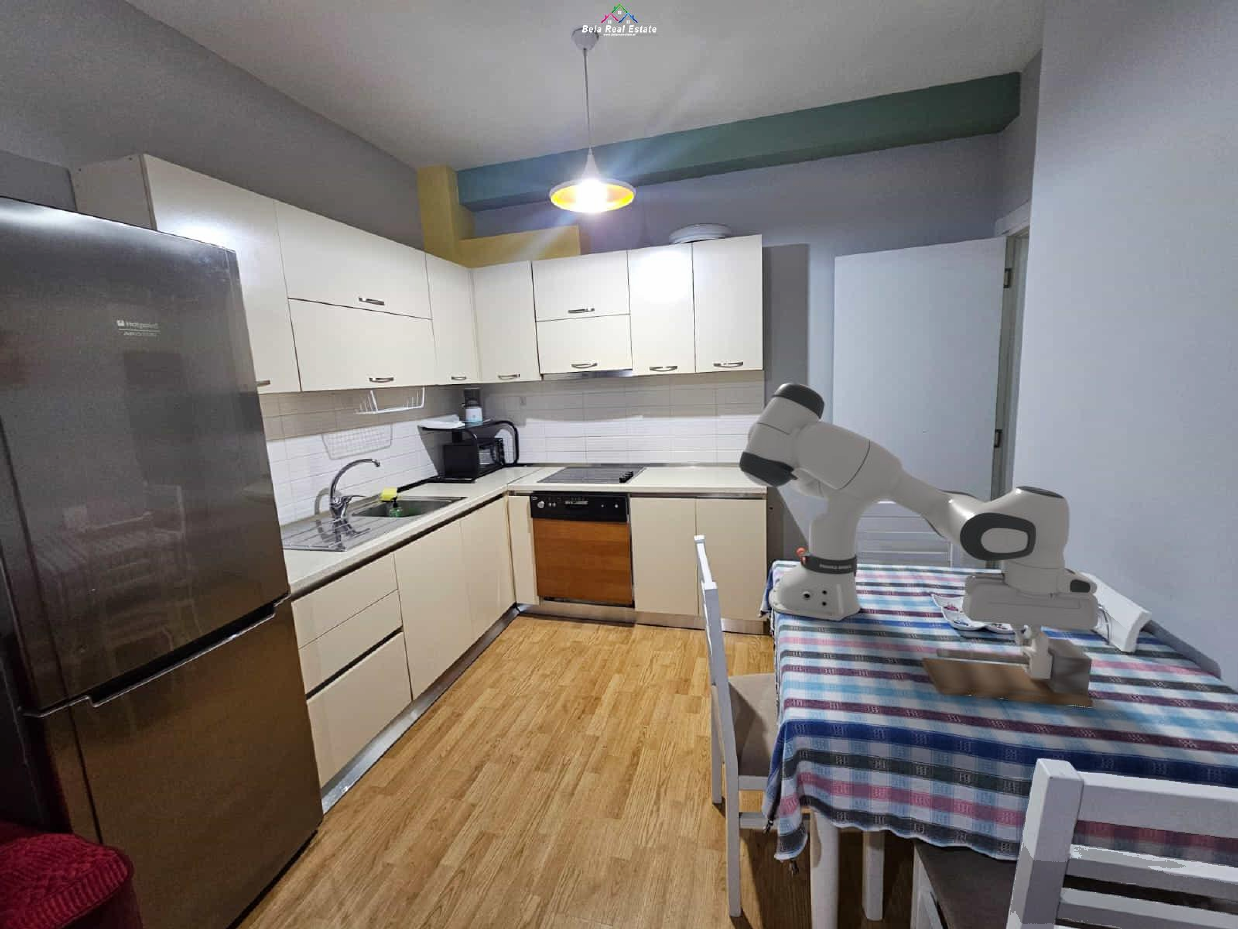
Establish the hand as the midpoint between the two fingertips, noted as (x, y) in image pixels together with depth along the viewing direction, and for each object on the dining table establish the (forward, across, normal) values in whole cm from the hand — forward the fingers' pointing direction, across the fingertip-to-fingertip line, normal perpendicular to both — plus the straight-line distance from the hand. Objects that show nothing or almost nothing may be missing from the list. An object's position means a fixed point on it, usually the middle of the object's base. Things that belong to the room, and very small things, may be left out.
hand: (1023, 645), depth 95 cm
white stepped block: (+5, +2, 0) cm, 6 cm away
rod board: (+9, -3, 0) cm, 9 cm away
